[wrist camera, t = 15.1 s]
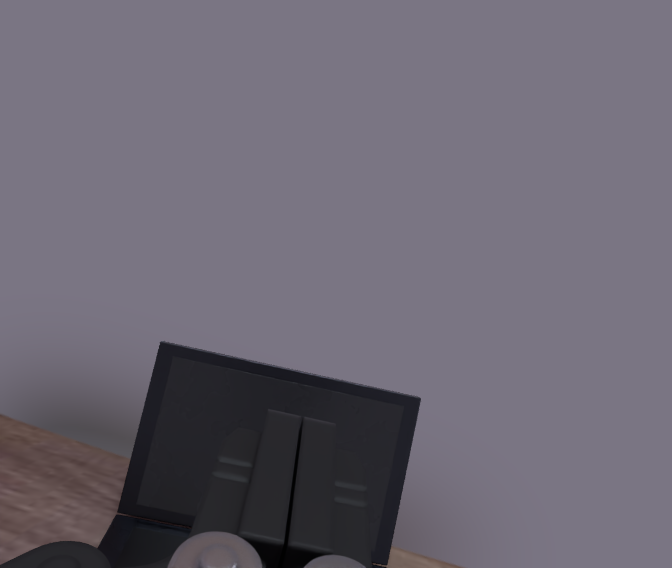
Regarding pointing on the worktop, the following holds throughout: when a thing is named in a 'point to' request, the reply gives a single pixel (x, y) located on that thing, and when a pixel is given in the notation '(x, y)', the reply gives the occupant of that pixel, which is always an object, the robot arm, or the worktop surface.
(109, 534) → the laptop
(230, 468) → the robot arm
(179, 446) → the laptop screen
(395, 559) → the worktop surface
